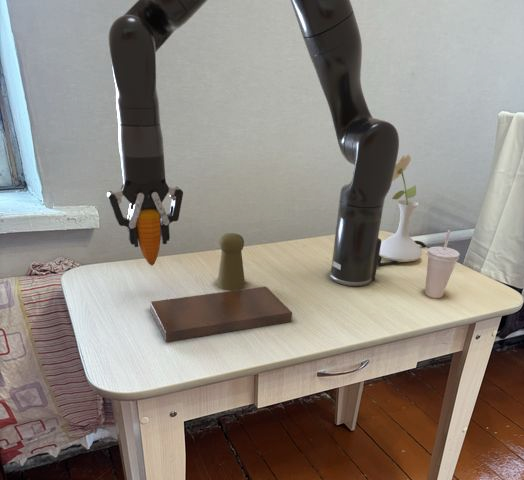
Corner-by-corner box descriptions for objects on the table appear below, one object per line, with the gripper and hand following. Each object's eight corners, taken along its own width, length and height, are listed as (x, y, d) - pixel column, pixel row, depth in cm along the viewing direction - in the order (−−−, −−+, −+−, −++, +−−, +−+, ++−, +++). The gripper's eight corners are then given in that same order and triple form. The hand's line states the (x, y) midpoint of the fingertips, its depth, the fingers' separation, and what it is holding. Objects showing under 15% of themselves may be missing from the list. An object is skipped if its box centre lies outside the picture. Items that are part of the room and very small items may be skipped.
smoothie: (450, 292, 110) (467, 229, 103) (446, 303, 105) (463, 238, 98) (421, 285, 113) (435, 224, 105) (415, 296, 108) (430, 232, 100)
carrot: (143, 271, 97) (135, 192, 89) (136, 262, 101) (127, 186, 93) (168, 267, 99) (162, 190, 91) (160, 259, 103) (154, 183, 95)
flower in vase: (399, 247, 134) (418, 147, 121) (430, 262, 126) (454, 156, 113) (360, 253, 129) (376, 150, 116) (389, 269, 120) (410, 159, 107)
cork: (241, 291, 106) (242, 241, 100) (213, 288, 107) (213, 237, 101) (247, 280, 111) (249, 231, 105) (221, 277, 112) (221, 228, 106)
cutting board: (265, 294, 105) (266, 286, 104) (291, 321, 95) (292, 312, 94) (150, 311, 97) (149, 301, 95) (166, 342, 87) (165, 332, 86)
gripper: (102, 157, 83) (115, 255, 92) (187, 153, 88) (191, 246, 97) (97, 149, 89) (109, 241, 98) (176, 146, 94) (181, 234, 103)
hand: (150, 243), depth 97 cm, fingers closed on carrot, 5 cm apart
